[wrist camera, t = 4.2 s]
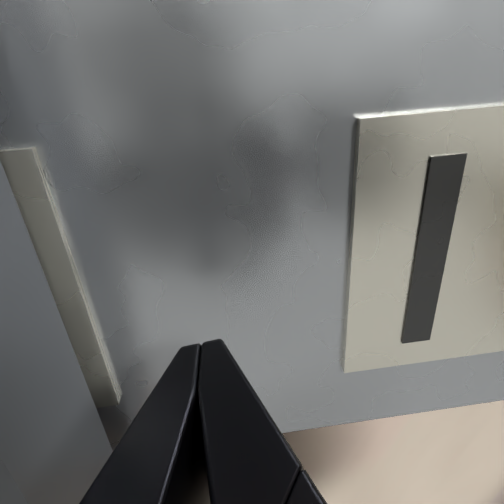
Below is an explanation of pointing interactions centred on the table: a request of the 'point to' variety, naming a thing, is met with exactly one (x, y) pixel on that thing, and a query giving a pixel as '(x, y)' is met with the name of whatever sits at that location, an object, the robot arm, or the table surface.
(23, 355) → the swing bar
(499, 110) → the panel
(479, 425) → the table surface
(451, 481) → the table surface
